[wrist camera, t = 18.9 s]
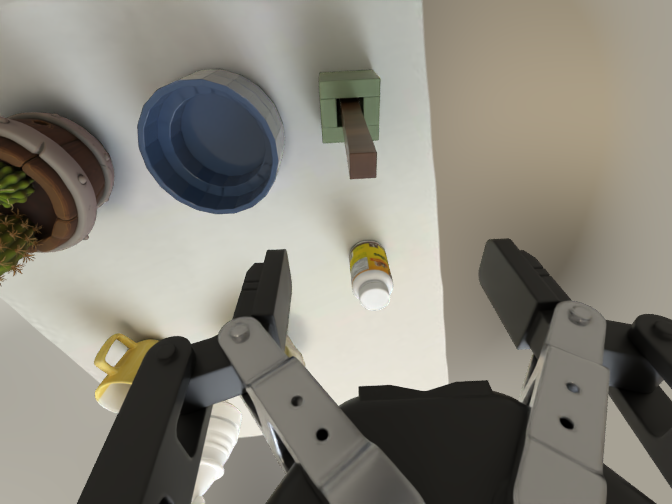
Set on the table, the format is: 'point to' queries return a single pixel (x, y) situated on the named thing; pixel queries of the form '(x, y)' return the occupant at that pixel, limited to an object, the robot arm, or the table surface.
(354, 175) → the brown stick
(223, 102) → the blue round tub
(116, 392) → the mug
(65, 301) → the table surface
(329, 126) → the stick holder
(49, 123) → the flowerpot
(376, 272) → the supplement bottle
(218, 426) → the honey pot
